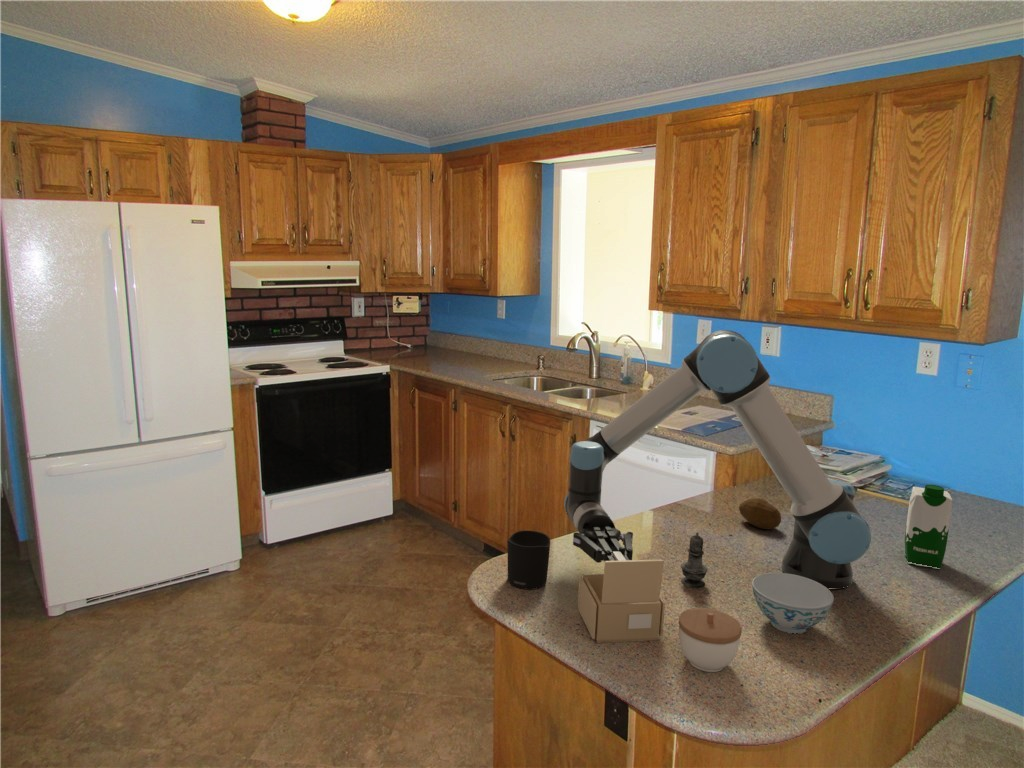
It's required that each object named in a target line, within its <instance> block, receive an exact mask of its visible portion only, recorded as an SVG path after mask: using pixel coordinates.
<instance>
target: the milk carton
mask: <svg viewBox="0 0 1024 768" xmlns="http://www.w3.org/2000/svg"><path fill="white" fill-rule="evenodd" d="M952 507H953V498H952V496H951V494H950V493H949V492H948V491H946V490H945V487H943V486H939V485H935V484H925V485H924V487H920V486H912V490H911V494H910V497H909V504H908V511H907V516H906V525H905V532H904V555H905V554H906V555H905V558H906V557H907V559H906V562H907V561H908V562H912V563H916V564H922V565H927V566H932V567H937V568H941V569H942V565H943V563H944V562H943V561H944V558H945V554H946V550H947V549H946V548H947V543H948V536H949V530H950V523H951V518H952Z"/></svg>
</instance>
